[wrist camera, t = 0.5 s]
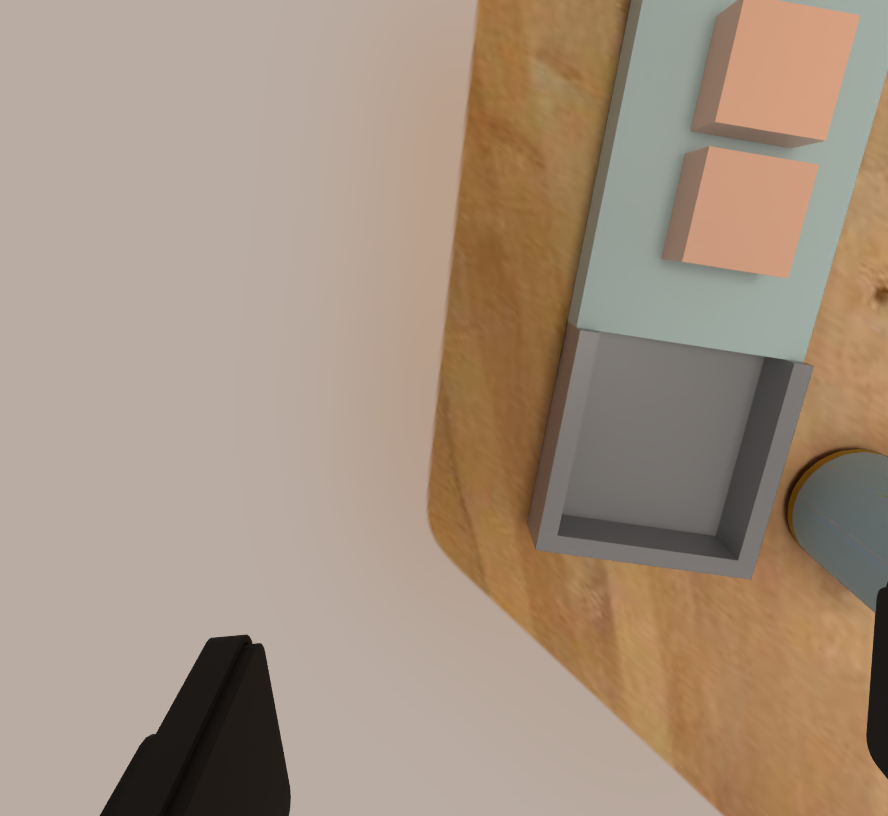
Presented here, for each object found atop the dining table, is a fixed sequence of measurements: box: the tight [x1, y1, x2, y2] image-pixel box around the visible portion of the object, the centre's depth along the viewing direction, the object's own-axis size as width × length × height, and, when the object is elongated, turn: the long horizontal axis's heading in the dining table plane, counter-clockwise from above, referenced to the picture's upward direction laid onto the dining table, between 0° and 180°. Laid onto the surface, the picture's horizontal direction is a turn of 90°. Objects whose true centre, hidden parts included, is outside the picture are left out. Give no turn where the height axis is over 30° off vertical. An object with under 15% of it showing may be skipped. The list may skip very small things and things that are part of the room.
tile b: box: [661, 146, 819, 278], centre depth 32 cm, size 5×5×3 cm
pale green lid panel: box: [568, 0, 888, 362], centre depth 34 cm, size 20×12×2 cm, turn 171°
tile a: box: [691, 0, 860, 148], centre depth 31 cm, size 5×5×3 cm
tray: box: [527, 321, 814, 579], centre depth 38 cm, size 12×12×4 cm
